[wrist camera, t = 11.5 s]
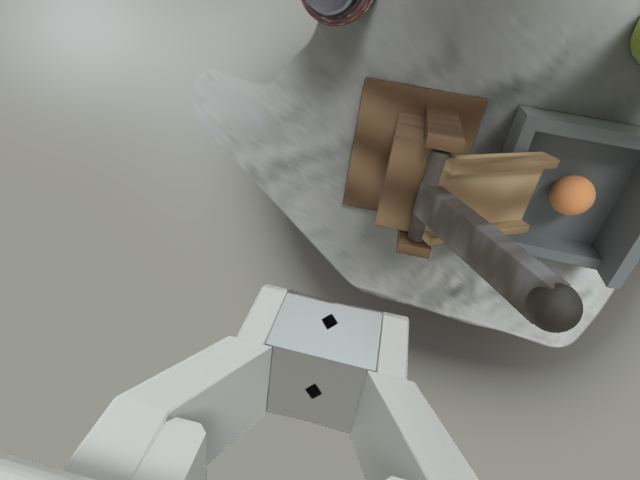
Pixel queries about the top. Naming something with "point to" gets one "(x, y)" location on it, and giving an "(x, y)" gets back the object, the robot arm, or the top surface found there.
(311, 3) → the supplement bottle
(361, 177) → the lever stand
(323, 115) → the top surface
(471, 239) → the launcher
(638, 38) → the plant pot
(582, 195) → the ball
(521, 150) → the bin
